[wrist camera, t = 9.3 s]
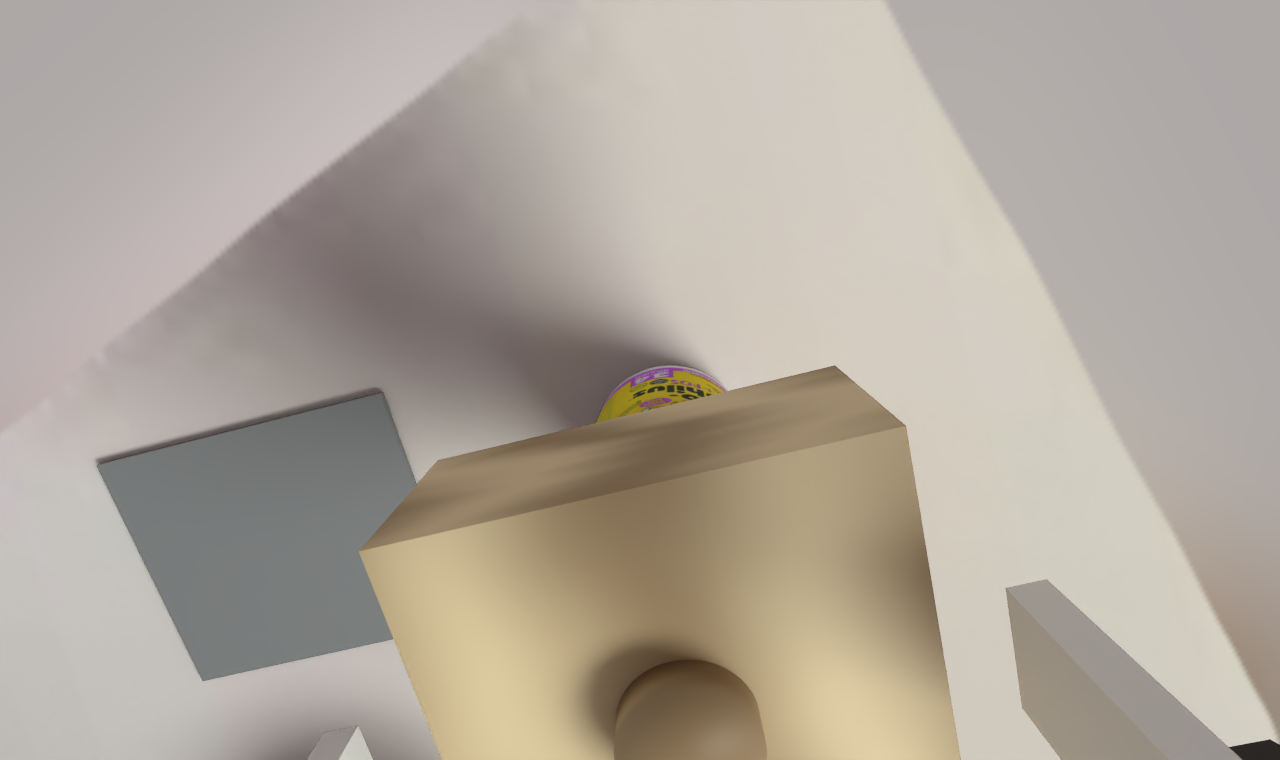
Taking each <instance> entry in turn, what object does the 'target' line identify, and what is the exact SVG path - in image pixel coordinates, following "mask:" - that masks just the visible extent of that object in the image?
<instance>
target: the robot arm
mask: <svg viewBox="0 0 1280 760" xmlns="http://www.w3.org/2000/svg"><path fill="white" fill-rule="evenodd" d="M1006 594H1007V601H1008V608H1009V616H1010V623H1011V630H1012V637H1013V645H1014V652H1015V659H1016V666H1017V673H1018V681H1019V688H1020V695H1021V702H1022V708H1023V709H1024V711H1025V712H1026V713H1027V715H1028V716H1029V717H1030V719H1031V720H1032V721H1033V723H1034V724H1035V725H1036V727H1037V728H1038V729H1039V731H1040V732H1041V733H1042V735H1043V736H1044V737H1045V739H1046V740H1047V741H1048V743H1049V744H1050V745H1051V747H1052V748H1053V749H1054V751H1055V752H1056V753H1057V755H1058V756H1059V757H1060V759H1061V760H1280V745H1279V744H1277V743H1275V742H1273V741H1272V740H1265V741H1260V742H1254V743H1249V744H1244V745H1238V746H1233V747H1228V746H1227V745H1226V744H1225V743H1224V742H1223V741H1221V740H1220V739H1219V738H1218V737H1217V736H1216V735H1215V734H1214V733H1213V732H1212V731H1211V730H1209V729H1208V728H1207V727H1206V726H1205V725H1204V724H1203V723H1202V722H1201V721H1200V720H1199V719H1198V718H1196V717H1195V716H1194V715H1193V714H1192V713H1191V712H1190V711H1189V710H1188V709H1187V708H1186V707H1185V706H1183V705H1182V704H1181V703H1180V702H1179V701H1178V700H1177V699H1176V698H1175V697H1174V696H1173V695H1172V694H1170V693H1169V692H1168V691H1167V690H1166V689H1165V688H1164V687H1163V686H1162V685H1161V684H1160V683H1159V682H1157V681H1156V680H1155V679H1154V678H1153V677H1152V676H1151V675H1150V674H1149V673H1148V672H1147V671H1146V670H1144V669H1143V668H1142V667H1141V666H1140V665H1139V664H1138V663H1137V662H1136V661H1135V660H1134V659H1133V658H1131V657H1130V656H1129V655H1128V654H1127V653H1126V652H1125V651H1124V650H1123V649H1122V648H1121V647H1120V646H1118V645H1117V644H1116V643H1115V642H1114V641H1113V640H1112V639H1111V638H1110V637H1109V636H1108V635H1107V634H1105V633H1104V632H1103V631H1102V630H1101V629H1100V628H1099V627H1098V626H1097V625H1096V624H1095V623H1094V622H1092V621H1091V620H1090V619H1089V618H1088V617H1087V616H1086V615H1085V614H1084V613H1083V612H1082V611H1080V610H1079V609H1078V608H1077V607H1076V606H1075V605H1074V604H1073V603H1072V602H1071V601H1070V600H1069V599H1067V598H1066V597H1065V596H1064V595H1063V594H1062V593H1061V592H1060V591H1059V590H1058V589H1057V588H1056V587H1054V586H1053V585H1052V584H1051V583H1050V582H1049V581H1048V580H1047V579H1046V580H1042V581H1037V582H1032V583H1028V584H1023V585H1018V586H1013V587H1009V588H1006ZM307 760H373V759H372V756H371V754H370V752H369V749H368V747H367V745H366V742H365V740H364V738H363V735H362V733H361V731H360V728H359V726H354V727H349V728H344V729H340V730H335V731H330V732H325V733H323V734H322V736H321V738H320V739H319V741H318V742H317V744H316V746H315V747H314V749H313V750H312V752H311V753H310V755H309V757H308V758H307Z"/></svg>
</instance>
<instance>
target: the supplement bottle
mask: <svg viewBox="0 0 1280 760" xmlns="http://www.w3.org/2000/svg"><path fill="white" fill-rule="evenodd" d="M722 392H727V390H726V388H725V387H724V386H723V385H721V384H720V383H719V382H718V381H716V380H715V379H714V378H712V377H711V376H709V375H707V374H705V373H703V372H701V371H699V370H696V369H693V368H689V367H683V366H674V365H666V366H657V367H653V368H649V369H645V370H643V371H640V372H638V373H636V374H634V375H632V376H631V377H629V378H627V379H626V380H625V381H623V382H622V383H621V384H619V385H618V386H617V387H616V388H615V389H614V391H613V392H612V393H611V394H610V395H609V397H608V398H607V400H606V402H605V403H604V405H603V407H602V409H601V411H600V413H599V416H598V419H597V422H601V421H605V420H609V419H614V418H618V417H622V416H626V415H630V414H635V413H639V412H643V411H647V410H651V409H655V408H660V407H664V406H668V405H672V404H676V403H681V402H685V401H689V400H693V399H697V398H701V397H706V396H710V395H714V394H718V393H722ZM597 422H596V423H597Z"/></svg>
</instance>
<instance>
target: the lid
mask: <svg viewBox="0 0 1280 760" xmlns="http://www.w3.org/2000/svg"><path fill="white" fill-rule="evenodd" d="M359 554H360V556H361V559H362V561H363V564H364V566H365V569H366V571H367V574H368V576H369V579H370V581H371V584H372V586H373V589H374V591H375V594H376V596H377V599H378V601H379V604H380V606H381V609H382V611H383V614H384V616H385V619H386V621H387V624H388V626H389V629H390V631H391V634H392V636H393V639H394V641H395V644H396V646H397V649H398V651H399V654H400V656H401V659H402V661H403V664H404V666H405V669H406V671H407V674H408V676H409V679H410V681H411V684H412V686H413V689H414V691H415V694H416V696H417V699H418V701H419V704H420V706H421V709H422V711H423V714H424V716H425V719H426V721H427V724H428V726H429V729H430V731H431V734H432V736H433V739H434V741H435V744H436V746H437V749H438V751H439V754H440V756H441V759H442V760H961V758H960V752H959V746H958V740H957V734H956V728H955V722H954V715H953V709H952V703H951V697H950V691H949V685H948V679H947V673H946V667H945V661H944V655H943V648H942V642H941V636H940V630H939V624H938V618H937V612H936V606H935V600H934V594H933V588H932V581H931V575H930V569H929V563H928V557H927V551H926V545H925V539H924V533H923V527H922V521H921V515H920V508H919V502H918V496H917V490H916V484H915V478H914V472H913V466H912V460H911V454H910V448H909V441H908V435H907V429H906V425H904V424H903V423H902V422H901V421H900V420H898V419H897V418H896V417H895V416H894V415H893V414H891V413H890V412H889V411H888V410H887V409H885V408H884V407H883V406H882V405H881V404H880V403H878V402H877V401H876V400H875V399H874V398H873V397H871V396H870V395H869V394H868V393H867V392H865V391H864V390H863V389H862V388H861V387H860V386H858V385H857V384H856V383H855V382H854V381H852V380H851V379H850V378H849V377H848V376H847V375H845V374H844V373H843V372H842V371H841V370H840V369H838V368H837V367H836V366H831V367H827V368H823V369H819V370H814V371H810V372H806V373H802V374H798V375H794V376H789V377H785V378H781V379H777V380H773V381H768V382H764V383H760V384H756V385H752V386H747V387H743V388H739V389H735V390H731V391H727V392H722V393H718V394H714V395H710V396H706V397H701V398H697V399H693V400H689V401H685V402H681V403H676V404H672V405H668V406H664V407H660V408H655V409H651V410H647V411H643V412H639V413H635V414H630V415H626V416H622V417H618V418H614V419H609V420H605V421H601V422H597V423H593V424H589V425H584V426H580V427H576V428H572V429H568V430H563V431H559V432H555V433H551V434H547V435H543V436H538V437H534V438H530V439H526V440H522V441H517V442H513V443H509V444H505V445H501V446H497V447H492V448H488V449H484V450H480V451H476V452H471V453H467V454H463V455H459V456H455V457H451V458H446V459H442V460H438V461H437V462H436V463H435V464H434V465H433V466H432V468H431V469H430V470H429V471H428V472H427V473H426V474H425V476H424V477H423V478H422V479H421V480H420V481H419V483H418V484H417V485H416V486H415V487H414V488H413V489H412V491H411V492H410V493H409V494H408V495H407V496H406V497H405V499H404V500H403V501H402V502H401V503H400V504H399V506H398V507H397V508H396V509H395V510H394V511H393V512H392V514H391V515H390V516H389V517H388V518H387V519H386V520H385V522H384V523H383V524H382V525H381V526H380V527H379V529H378V530H377V531H376V532H375V533H374V534H373V535H372V537H371V538H370V539H369V540H368V541H367V542H366V543H365V545H364V546H363V547H362V548H361V549H360V550H359Z"/></svg>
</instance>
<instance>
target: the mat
mask: <svg viewBox="0 0 1280 760" xmlns="http://www.w3.org/2000/svg"><path fill="white" fill-rule="evenodd" d="M97 468H98V470H99V472H100V474H101V476H102V478H103V480H104V482H105V484H106V486H107V488H108V490H109V492H110V494H111V496H112V498H113V500H114V502H115V504H116V506H117V508H118V510H119V512H120V514H121V516H122V518H123V520H124V522H125V524H126V526H127V528H128V531H129V533H130V535H131V537H132V539H133V541H134V543H135V545H136V547H137V549H138V551H139V553H140V555H141V557H142V559H143V561H144V563H145V565H146V567H147V569H148V571H149V573H150V575H151V577H152V579H153V581H154V583H155V585H156V587H157V589H158V591H159V593H160V595H161V598H162V600H163V602H164V604H165V606H166V608H167V610H168V612H169V614H170V616H171V618H172V620H173V622H174V624H175V626H176V628H177V630H178V632H179V634H180V636H181V638H182V640H183V642H184V644H185V646H186V648H187V650H188V652H189V654H190V656H191V658H192V660H193V662H194V665H195V667H196V669H197V671H198V673H199V675H200V677H201V679H202V681H205V680H210V679H215V678H219V677H224V676H228V675H233V674H237V673H242V672H246V671H251V670H255V669H260V668H264V667H269V666H274V665H278V664H283V663H287V662H292V661H296V660H301V659H305V658H310V657H314V656H319V655H323V654H328V653H333V652H337V651H342V650H346V649H351V648H355V647H360V646H364V645H369V644H373V643H378V642H382V641H387V640H392V639H393V636H392V634H391V631H390V629H389V626H388V624H387V621H386V619H385V616H384V614H383V611H382V609H381V606H380V604H379V601H378V599H377V596H376V594H375V591H374V589H373V586H372V584H371V581H370V579H369V576H368V574H367V571H366V569H365V566H364V564H363V561H362V559H361V556H360V554H359V550H360V549H361V548H362V547H363V546H364V545H365V543H366V542H367V541H368V540H369V539H370V538H371V537H372V535H373V534H374V533H375V532H376V531H377V530H378V529H379V527H380V526H381V525H382V524H383V523H384V522H385V520H386V519H387V518H388V517H389V516H390V515H391V514H392V512H393V511H394V510H395V509H396V508H397V507H398V506H399V504H400V503H401V502H402V501H403V500H404V499H405V497H406V496H407V495H408V494H409V493H410V492H411V491H412V489H413V488H414V487H415V486H416V485H417V484H416V481H415V478H414V476H413V473H412V470H411V468H410V465H409V462H408V459H407V457H406V454H405V451H404V449H403V446H402V443H401V440H400V438H399V435H398V432H397V430H396V427H395V424H394V421H393V419H392V416H391V413H390V411H389V408H388V405H387V402H386V400H385V397H384V394H383V392H381V393H377V394H373V395H369V396H365V397H361V398H357V399H353V400H349V401H345V402H341V403H337V404H333V405H329V406H325V407H321V408H317V409H313V410H309V411H306V412H302V413H298V414H294V415H290V416H286V417H282V418H278V419H274V420H270V421H266V422H262V423H258V424H254V425H250V426H246V427H242V428H238V429H234V430H231V431H227V432H223V433H219V434H215V435H211V436H207V437H203V438H199V439H195V440H191V441H187V442H183V443H179V444H175V445H171V446H167V447H163V448H159V449H155V450H152V451H148V452H144V453H140V454H136V455H132V456H128V457H124V458H120V459H116V460H112V461H108V462H104V463H101V464H99V465H97Z"/></svg>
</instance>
